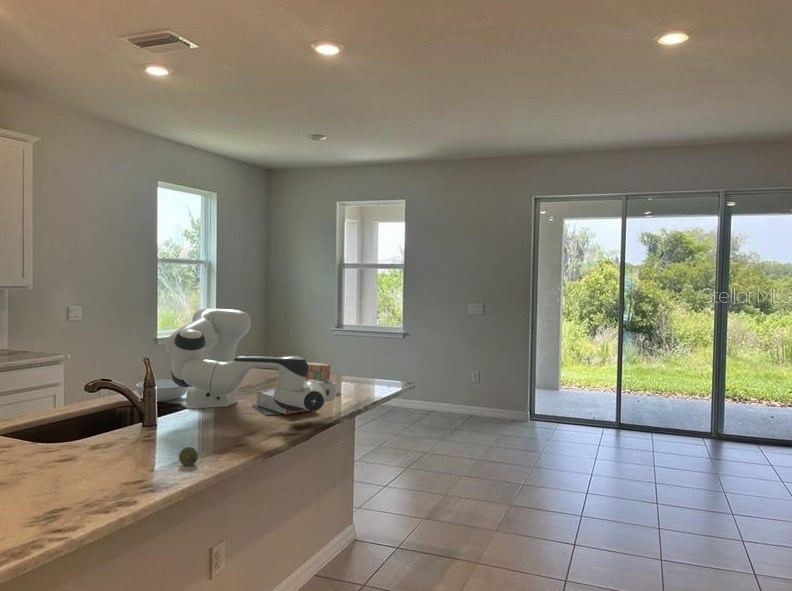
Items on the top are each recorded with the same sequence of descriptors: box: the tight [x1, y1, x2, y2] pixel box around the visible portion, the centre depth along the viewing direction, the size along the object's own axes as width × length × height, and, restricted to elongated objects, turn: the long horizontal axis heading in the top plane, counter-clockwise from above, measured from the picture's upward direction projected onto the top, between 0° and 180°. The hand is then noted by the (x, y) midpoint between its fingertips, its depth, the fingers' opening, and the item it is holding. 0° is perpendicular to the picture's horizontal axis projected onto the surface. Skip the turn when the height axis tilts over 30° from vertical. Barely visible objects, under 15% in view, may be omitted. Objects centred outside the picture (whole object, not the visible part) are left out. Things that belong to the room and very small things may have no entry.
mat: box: [252, 404, 309, 417], centre depth 237 cm, size 20×18×1 cm
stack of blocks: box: [305, 362, 331, 382], centre depth 279 cm, size 21×6×12 cm, turn 83°
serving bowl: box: [135, 378, 189, 403], centre depth 247 cm, size 21×21×7 cm
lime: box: [178, 446, 199, 467], centre depth 166 cm, size 4×5×5 cm
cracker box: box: [255, 388, 308, 415], centre depth 236 cm, size 14×6×21 cm
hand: (309, 384), depth 231 cm, fingers open, 8 cm apart
